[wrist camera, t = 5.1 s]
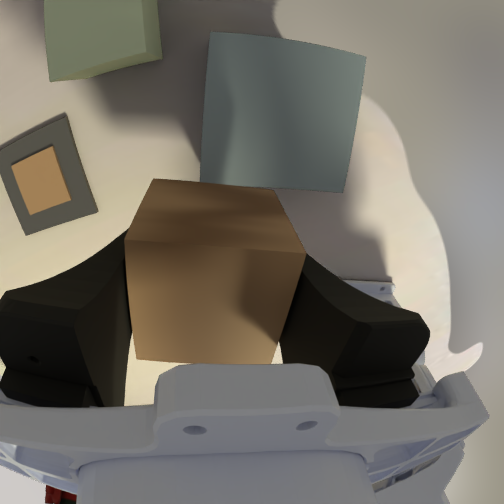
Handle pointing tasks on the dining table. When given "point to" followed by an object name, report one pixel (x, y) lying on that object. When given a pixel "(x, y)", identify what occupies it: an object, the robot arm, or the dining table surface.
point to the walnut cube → (210, 273)
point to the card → (46, 178)
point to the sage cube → (99, 36)
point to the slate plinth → (279, 113)
